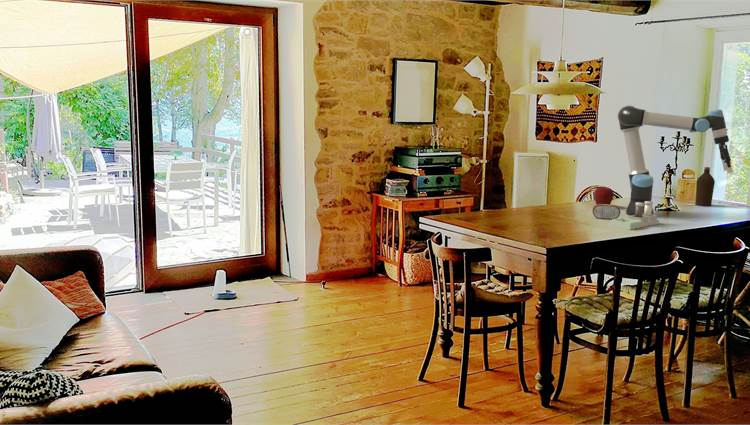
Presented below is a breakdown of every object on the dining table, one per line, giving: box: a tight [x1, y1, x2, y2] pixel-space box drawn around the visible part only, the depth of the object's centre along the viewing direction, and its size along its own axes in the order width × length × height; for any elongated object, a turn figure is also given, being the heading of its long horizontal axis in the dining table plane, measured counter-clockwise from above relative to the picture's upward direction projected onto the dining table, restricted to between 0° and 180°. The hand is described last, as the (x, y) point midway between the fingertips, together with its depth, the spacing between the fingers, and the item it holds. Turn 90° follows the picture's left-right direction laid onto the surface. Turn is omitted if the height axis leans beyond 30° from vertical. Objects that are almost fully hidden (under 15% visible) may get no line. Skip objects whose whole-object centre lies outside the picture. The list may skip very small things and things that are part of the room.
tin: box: [592, 204, 621, 220], centre depth 388 cm, size 15×3×8 cm, turn 74°
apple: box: [593, 186, 615, 205], centre depth 430 cm, size 12×12×13 cm
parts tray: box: [609, 217, 644, 230], centre depth 366 cm, size 12×12×4 cm
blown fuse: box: [635, 202, 644, 218], centre depth 372 cm, size 4×4×10 cm
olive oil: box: [695, 166, 716, 207], centre depth 444 cm, size 11×11×25 cm
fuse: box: [644, 200, 654, 216], centre depth 378 cm, size 4×4×10 cm
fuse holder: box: [627, 214, 660, 227], centre depth 376 cm, size 10×17×4 cm, turn 128°
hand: (728, 171), depth 399 cm, fingers open, 13 cm apart
